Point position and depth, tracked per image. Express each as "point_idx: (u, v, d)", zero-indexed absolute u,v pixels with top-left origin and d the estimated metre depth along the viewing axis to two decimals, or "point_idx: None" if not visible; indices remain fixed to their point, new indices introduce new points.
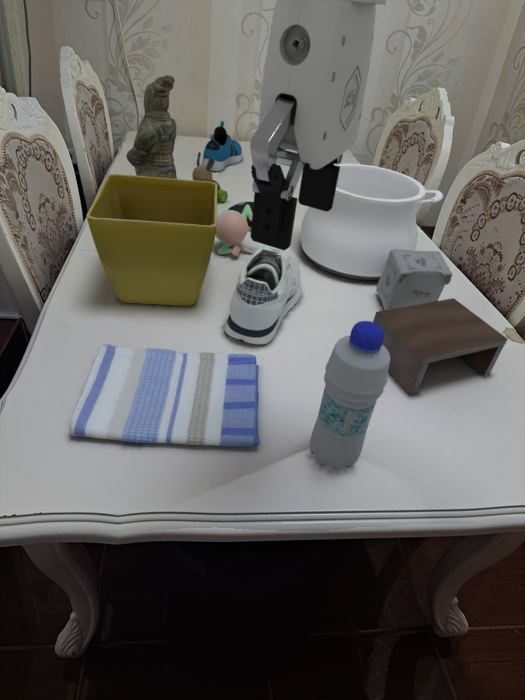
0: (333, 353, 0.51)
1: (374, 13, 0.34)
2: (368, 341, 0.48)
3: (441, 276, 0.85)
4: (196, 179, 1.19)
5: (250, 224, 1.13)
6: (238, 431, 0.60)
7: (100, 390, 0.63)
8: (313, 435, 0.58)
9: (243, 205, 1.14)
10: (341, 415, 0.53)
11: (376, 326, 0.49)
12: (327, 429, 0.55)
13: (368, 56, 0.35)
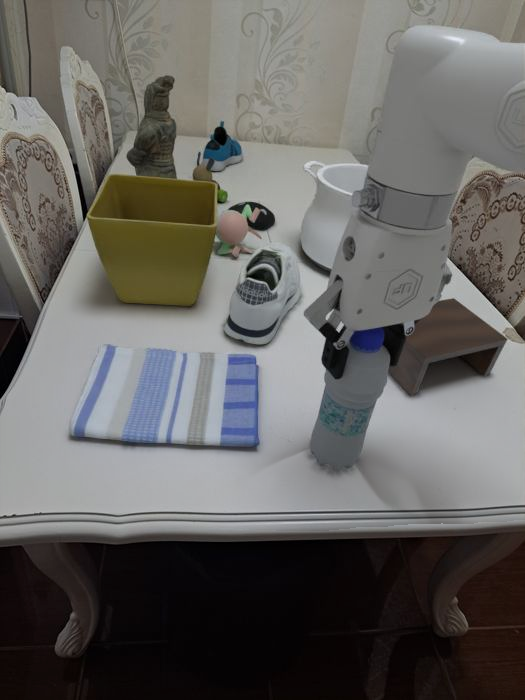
0: None
1: (444, 232, 0.42)
2: (368, 341, 0.48)
3: None
4: (196, 179, 1.19)
5: (250, 224, 1.13)
6: (238, 431, 0.60)
7: (100, 390, 0.63)
8: (313, 435, 0.58)
9: (243, 205, 1.14)
10: (341, 415, 0.53)
11: None
12: (327, 429, 0.55)
13: (436, 260, 0.43)
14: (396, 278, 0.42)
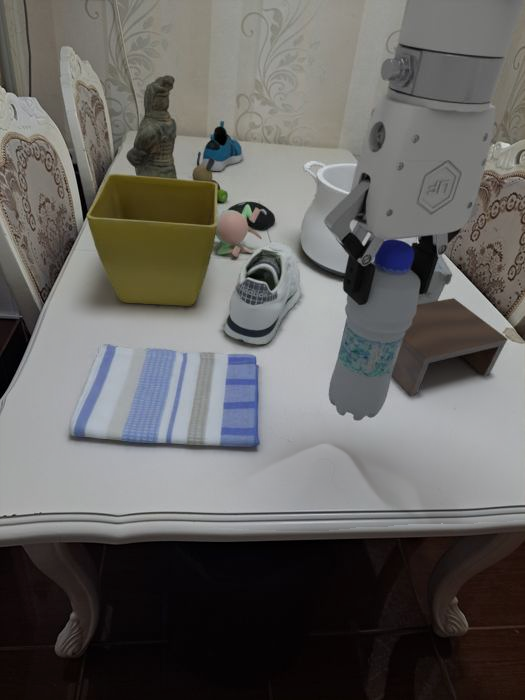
0: None
1: (487, 117, 0.36)
2: (397, 258, 0.42)
3: (441, 276, 0.85)
4: (196, 179, 1.19)
5: (250, 224, 1.13)
6: (238, 431, 0.60)
7: (100, 390, 0.63)
8: (332, 380, 0.53)
9: (243, 205, 1.14)
10: (365, 351, 0.47)
11: (404, 243, 0.44)
12: (349, 369, 0.50)
13: (477, 153, 0.38)
14: (432, 172, 0.37)
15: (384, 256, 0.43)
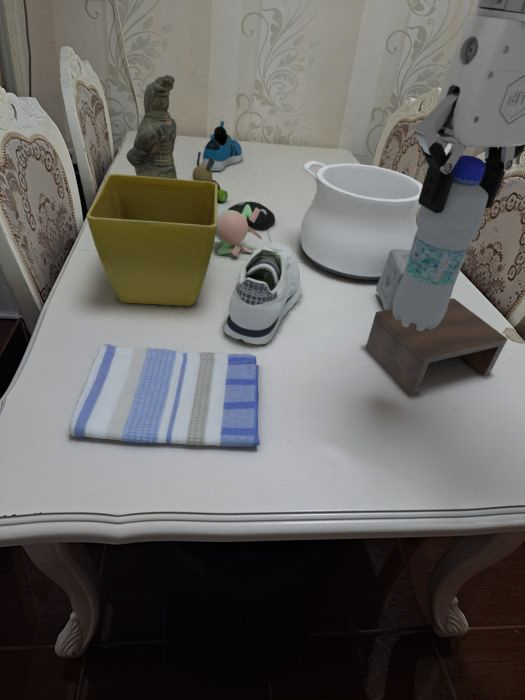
0: None
1: None
2: (471, 169, 0.48)
3: None
4: (196, 179, 1.19)
5: (250, 224, 1.13)
6: (238, 431, 0.60)
7: (100, 390, 0.63)
8: (398, 294, 0.58)
9: (243, 205, 1.14)
10: (436, 259, 0.53)
11: (476, 157, 0.49)
12: (417, 279, 0.55)
13: None
14: (514, 82, 0.42)
15: (460, 168, 0.49)
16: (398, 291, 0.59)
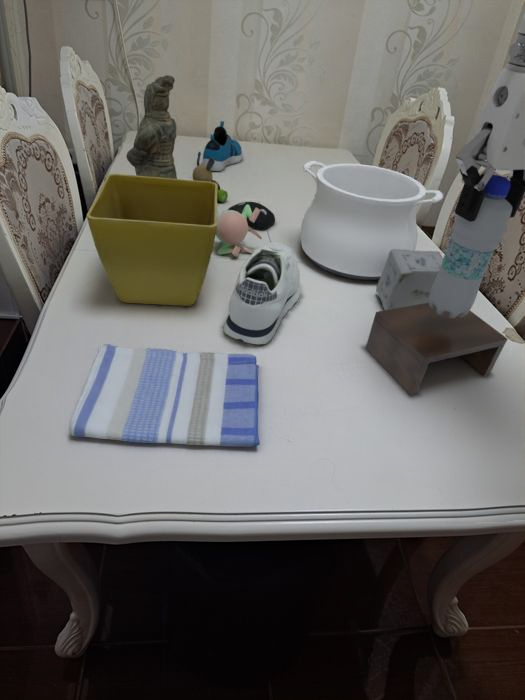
0: None
1: None
2: (499, 186, 0.60)
3: None
4: (196, 179, 1.19)
5: (250, 224, 1.13)
6: (238, 431, 0.60)
7: (100, 390, 0.63)
8: (435, 287, 0.70)
9: (243, 205, 1.14)
10: (468, 258, 0.65)
11: (503, 177, 0.61)
12: (452, 275, 0.67)
13: None
14: None
15: (490, 185, 0.61)
16: (434, 285, 0.71)
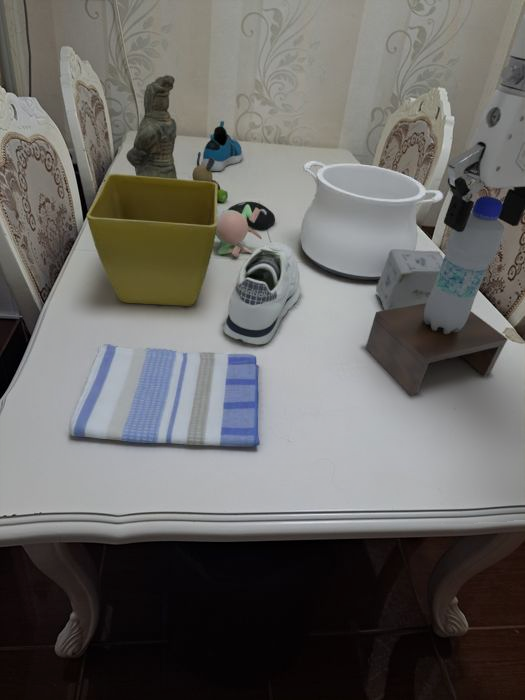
0: None
1: None
2: (491, 208, 0.62)
3: None
4: (196, 179, 1.19)
5: (250, 224, 1.13)
6: (238, 431, 0.60)
7: (100, 390, 0.63)
8: (429, 303, 0.72)
9: (243, 205, 1.14)
10: (461, 277, 0.66)
11: (495, 198, 0.63)
12: (446, 292, 0.69)
13: None
14: None
15: (482, 207, 0.62)
16: (429, 301, 0.72)
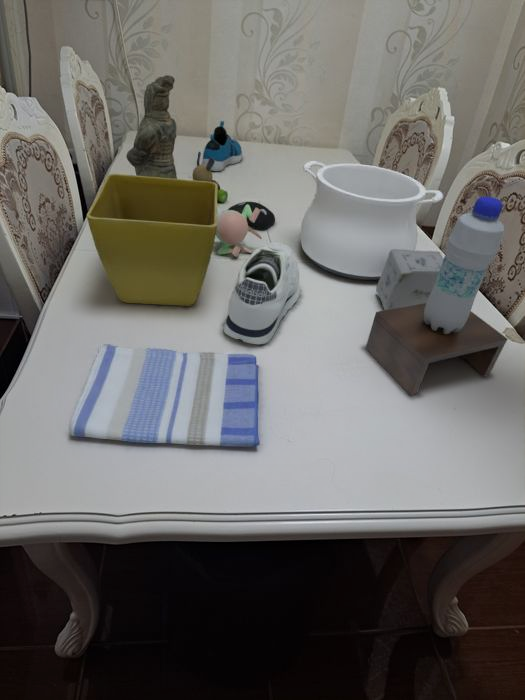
0: (458, 224, 0.65)
1: None
2: (491, 208, 0.62)
3: None
4: (196, 179, 1.19)
5: (250, 224, 1.13)
6: (238, 431, 0.60)
7: (100, 390, 0.63)
8: (429, 303, 0.72)
9: (243, 205, 1.14)
10: (461, 277, 0.66)
11: None
12: (446, 292, 0.69)
13: None
14: None
15: (482, 207, 0.62)
16: (429, 301, 0.72)
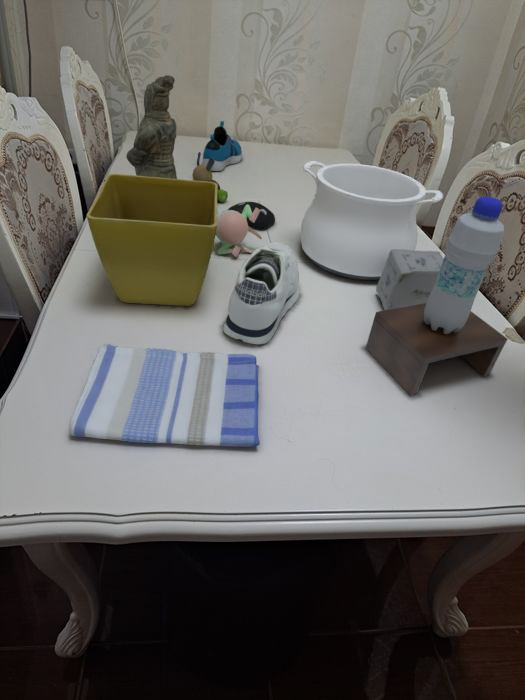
0: (458, 224, 0.65)
1: None
2: (492, 208, 0.62)
3: None
4: (196, 179, 1.19)
5: (250, 224, 1.13)
6: (238, 431, 0.60)
7: (100, 390, 0.63)
8: (429, 303, 0.72)
9: (243, 205, 1.14)
10: (461, 277, 0.66)
11: None
12: (446, 292, 0.69)
13: None
14: None
15: (482, 207, 0.62)
16: (429, 301, 0.72)
